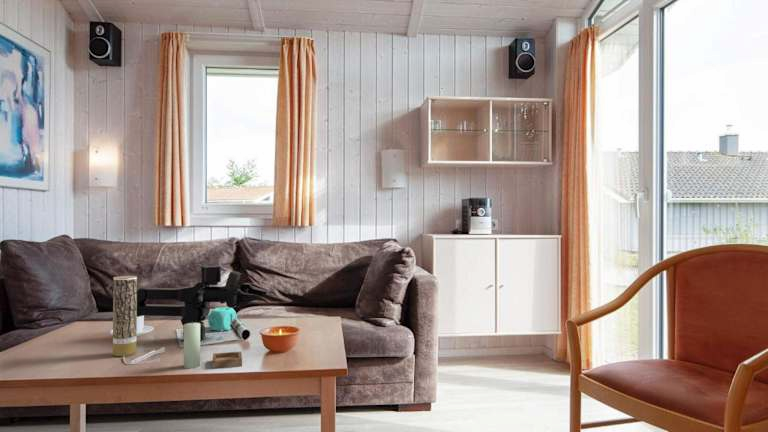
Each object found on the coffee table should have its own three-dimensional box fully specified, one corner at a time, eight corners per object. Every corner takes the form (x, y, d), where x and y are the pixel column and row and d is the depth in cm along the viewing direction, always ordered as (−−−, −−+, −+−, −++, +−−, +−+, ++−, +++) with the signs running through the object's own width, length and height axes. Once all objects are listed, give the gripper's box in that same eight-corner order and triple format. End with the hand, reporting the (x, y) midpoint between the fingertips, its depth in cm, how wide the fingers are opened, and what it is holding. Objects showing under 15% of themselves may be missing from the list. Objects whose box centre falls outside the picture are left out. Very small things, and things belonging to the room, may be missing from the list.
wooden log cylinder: (141, 352, 163) (141, 276, 163) (124, 358, 157) (124, 278, 157) (125, 350, 165) (125, 275, 165) (107, 356, 159) (108, 277, 159)
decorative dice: (223, 332, 193) (223, 311, 193) (207, 330, 196) (207, 309, 196) (237, 328, 200) (237, 308, 200) (222, 326, 203) (222, 306, 203)
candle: (180, 368, 146) (181, 323, 147) (187, 363, 151) (188, 319, 151) (196, 368, 146) (196, 323, 146) (202, 364, 151) (202, 320, 151)
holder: (212, 368, 146) (212, 360, 146) (213, 360, 154) (213, 353, 155) (241, 366, 149) (242, 358, 149) (241, 358, 157) (241, 351, 157)
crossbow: (147, 370, 148) (146, 363, 148) (111, 367, 151) (110, 360, 151) (180, 352, 164) (180, 346, 164) (147, 350, 167) (147, 344, 167)
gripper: (210, 275, 170) (254, 275, 170) (229, 269, 189) (270, 270, 188) (209, 307, 170) (254, 308, 170) (229, 298, 189) (269, 299, 188)
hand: (262, 295), depth 179 cm, fingers open, 9 cm apart
